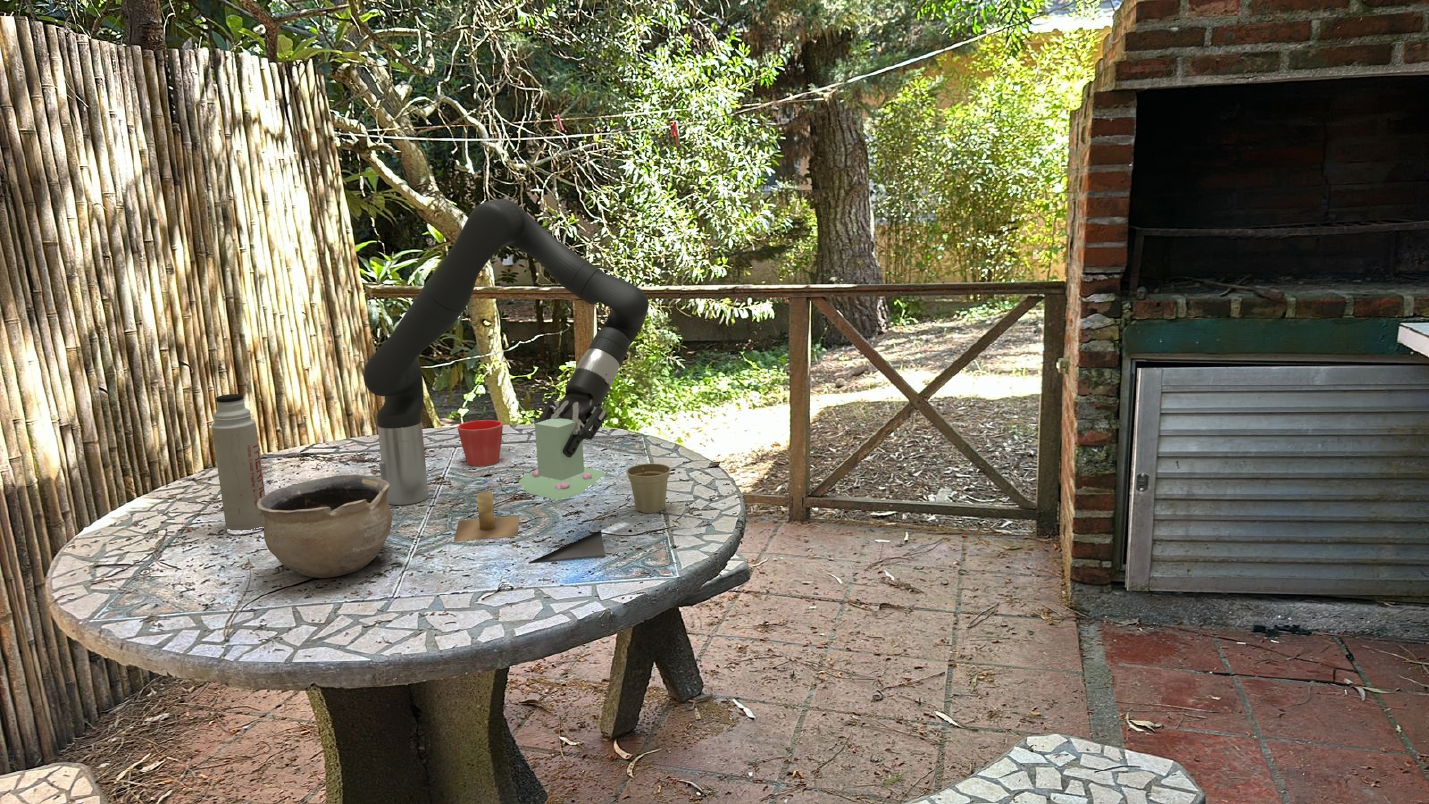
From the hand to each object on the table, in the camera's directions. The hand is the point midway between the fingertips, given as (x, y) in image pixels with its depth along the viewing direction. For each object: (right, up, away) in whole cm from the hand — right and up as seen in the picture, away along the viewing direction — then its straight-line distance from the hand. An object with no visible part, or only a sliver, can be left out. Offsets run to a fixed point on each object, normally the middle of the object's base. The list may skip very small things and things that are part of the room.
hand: (553, 452), depth 181 cm
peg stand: (-15, -17, +13) cm, 26 cm away
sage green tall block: (+1, -4, +2) cm, 5 cm away
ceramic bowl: (-40, -21, -2) cm, 45 cm away
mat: (+1, -18, +6) cm, 19 cm away
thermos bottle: (-66, -17, +20) cm, 71 cm away
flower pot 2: (+16, -13, +26) cm, 33 cm away
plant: (-6, -10, +45) cm, 47 cm away
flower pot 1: (-28, -6, +64) cm, 70 cm away
